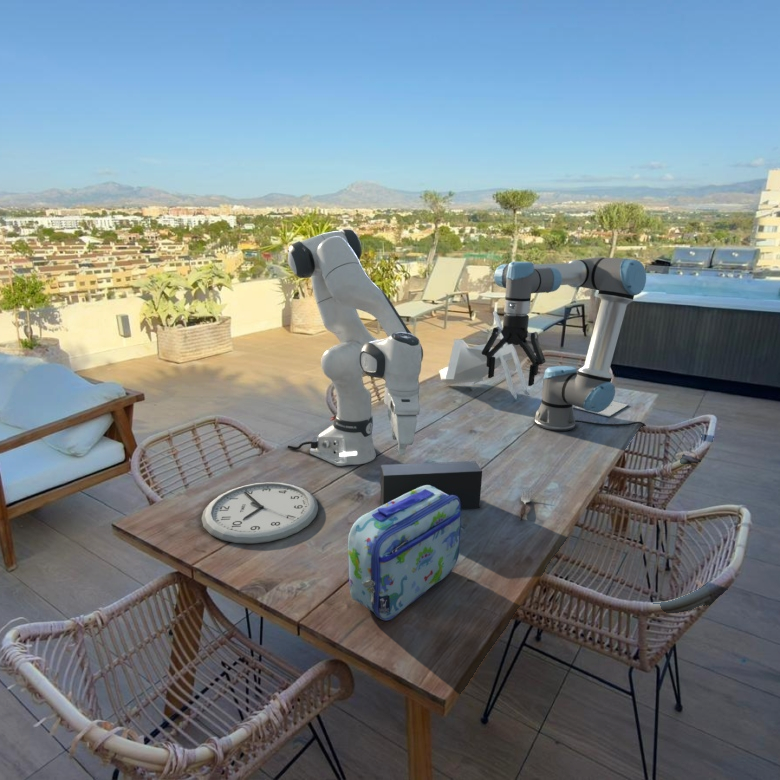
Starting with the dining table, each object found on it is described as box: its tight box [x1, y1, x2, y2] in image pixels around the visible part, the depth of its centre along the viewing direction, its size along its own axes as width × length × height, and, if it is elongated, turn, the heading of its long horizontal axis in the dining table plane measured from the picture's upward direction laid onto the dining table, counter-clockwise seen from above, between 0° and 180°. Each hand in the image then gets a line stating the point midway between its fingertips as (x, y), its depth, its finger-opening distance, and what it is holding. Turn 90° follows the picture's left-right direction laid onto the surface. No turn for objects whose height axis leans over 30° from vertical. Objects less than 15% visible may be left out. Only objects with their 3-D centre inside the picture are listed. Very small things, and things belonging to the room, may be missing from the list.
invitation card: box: [573, 400, 629, 418], centre depth 226 cm, size 21×1×15 cm
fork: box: [520, 488, 533, 521], centre depth 143 cm, size 3×16×2 cm, turn 160°
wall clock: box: [201, 481, 319, 544], centre depth 139 cm, size 30×2×30 cm
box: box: [380, 460, 483, 510], centre depth 142 cm, size 26×6×11 cm, turn 98°
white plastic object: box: [438, 310, 531, 400], centre depth 245 cm, size 37×45×31 cm
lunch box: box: [347, 485, 462, 621], centre depth 107 cm, size 26×11×21 cm, turn 134°
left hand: (398, 446), depth 138 cm, fingers open, 8 cm apart
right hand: (510, 381), depth 165 cm, fingers open, 13 cm apart
